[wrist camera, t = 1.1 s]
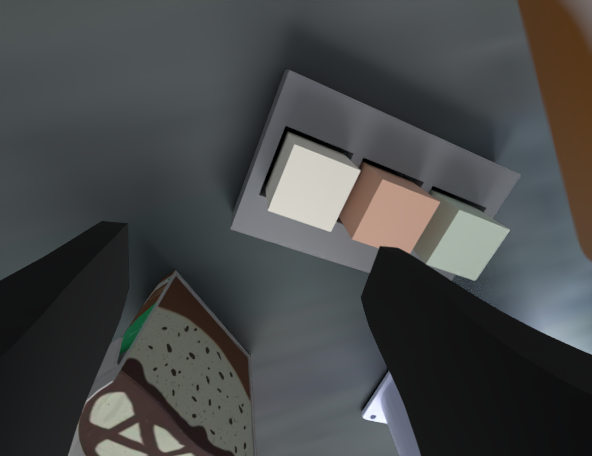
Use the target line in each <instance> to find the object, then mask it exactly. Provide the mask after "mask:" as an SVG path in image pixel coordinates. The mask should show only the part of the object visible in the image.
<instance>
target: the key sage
mask: <svg viewBox="0 0 592 456" xmlns="http://www.w3.org/2000/svg"><path fill="white" fill-rule="evenodd" d="M429 194H430V195H431V196H433V197H434V198H435V199H437V200H438V201H440V204H439V206H438V207H437V209H436V211H435V212H434V214H433V216H432V217H431V219H430V221H429V222H428V224H427V226H426V228H425V229H424V231H423V233H422V234H421V236H420V238H419V239H418V241H417V243H416V244H415V246H414V248H413V250H414V251H415V252H416V254H417V255H418V256H419V257H420V258H421V259H422V260H423V262H424V263H425V264H427V265H429V266H432V267H435V268H438V269H441V270H444V271H447V272H450V273H453V274H456V275H459V276H462V277H465V278H468V279H471V280H474V281H476V279H477V278H478V276H479V275H480V273H481V272H482V270H483V269H484V268H485V266H486V265H487V263H488V262H489V260H490V259H491V257H492V256H493V255H494V253H495V252H496V250H497V249H498V247H499V246H500V244H501V243H502V241H503V240H504V239H505V237H506V236H507V234H508V233H509V231H510V229H508V228H507V227H505V226H503V225H502V224H500V223H499V222H497V221H496V220H494V219H492V218H491V217H489V216H488V215H486V214H485V213H483V212H481V211H480V210H478V209H477V208H475V207H474V206H471V205H469V204H466V203H464V202H461V201H459V200H456V199H454V198H451V197H449V196H446V195H444V194H442V193H439V192H437V191H434V190H432V189H431V190H430V191H429Z"/></svg>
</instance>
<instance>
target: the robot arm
mask: <svg viewBox="0 0 592 456" xmlns="http://www.w3.org/2000/svg"><path fill="white" fill-rule="evenodd" d="M128 289H129V251H128V223H116V222H105V221H102V222H100V223H98V224H96V225H95V226H93V227H91V228H90V229H88V230H87V231H85V232H83V233H82V234H80V235H79V236H77V237H75V238H74V239H72V240H71V241H69V242H67V243H66V244H64V245H62V246H61V247H59V248H57V249H56V250H54V251H53V252H51V253H49V254H48V255H46V256H44V257H43V258H41V259H39V260H37V261H35V262H34V263H32V264H30V265H28V266H26V267H24V268H23V269H21V270H19V271H17V272H15V273H13V274H12V275H10V276H8V277H6V278H4V279H2V280H1V281H0V456H68V454H69V451H70V448H71V445H72V442H73V438H74V435H75V432H76V429H77V425H78V422H79V419H80V416H81V413H82V411H83V408H84V405H85V403H86V400H87V397H88V395H89V393H90V390H91V388H92V386H93V383H94V381H95V379H96V376H97V374H98V371H99V369H100V367H101V364H102V362H103V360H104V357H105V355H106V353H107V350H108V348H109V345H110V343H111V341H112V338H113V336H114V333H115V331H116V329H117V326H118V324H119V321H120V319H121V315H122V311H123V308H124V304H125V300H126V297H127V293H128ZM361 300H362V304H363V307H364V311H365V315H366V318H367V321H368V324H369V327H370V330H371V332H372V334H373V336H374V339H375V341H376V343H377V345H378V348H379V350H380V352H381V354H382V357H383V359H384V361H385V363H386V365H387V367H388V370H389V371H388V373H387V374H386V376H385V377H384V379H383V380H382V382H381V383H380V385H379V386H378V388H377V390H376V391H375V393H374V394H373V396H372V397H371V399H370V400H369V402H368V403H367V405H366V406H365V408H364V409H363V411H362V417H363V418H364V419H366V420H371V421H376V422H382V423H387V424H388V426H389V429H390V432H391V434H392V437H393V440H394V442H395V445H396V448H397V450H398V453H399V456H592V355H591V354H589V353H586V352H584V351H581V350H579V349H577V348H575V347H572V346H570V345H568V344H566V343H564V342H561V341H559V340H557V339H555V338H552V337H550V336H548V335H546V334H544V333H542V332H540V331H538V330H536V329H534V328H532V327H530V326H528V325H526V324H524V323H522V322H520V321H518V320H516V319H515V318H513V317H511V316H509V315H507V314H505V313H503V312H502V311H500V310H498V309H496V308H495V307H493V306H491V305H489V304H488V303H486V302H484V301H483V300H481V299H479V298H478V297H476V296H474V295H473V294H471V293H470V292H468V291H466V290H465V289H463V288H462V287H460V286H459V285H457V284H456V283H454V282H452V281H451V280H449V279H448V278H446V277H445V276H443V275H442V274H440V273H439V272H437V271H436V270H434V269H433V268H431V267H430V266H428V265H427V264H425V263H424V262H422V261H420V260H419V259H417V258H416V257H414V256H412V255H411V254H409V253H407V252H405V251H404V250H402V249H400V248H397V247H386V246H380V247H379V250H378V252H377V255H376V258H375V260H374V263H373V266H372V269H371V271H370V274H369V277H368V280H367V282H366V285H365V288H364V290H363V293H362V296H361Z"/></svg>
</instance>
